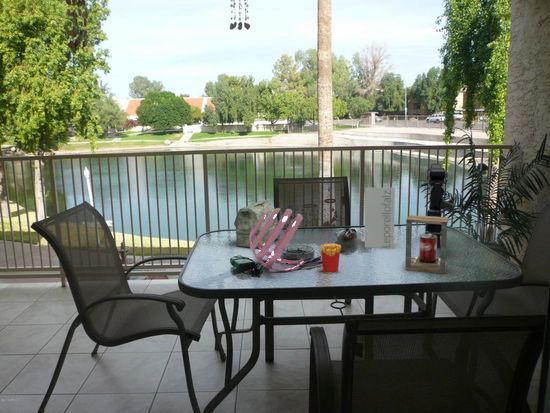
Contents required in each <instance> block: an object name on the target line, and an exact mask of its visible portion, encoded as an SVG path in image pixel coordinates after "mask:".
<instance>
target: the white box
mask: <svg viewBox="0 0 550 413" xmlns="http://www.w3.org/2000/svg"><path fill="white" fill-rule="evenodd" d="M395 189H396V188H395V187H365V190H364V192H365V194H364V195H365V196H364V197H365V198H364V248H370V249H394V248H395V246H394V245H395V244H394V243H395V199H396V198H395V196H396V193H395V192H396V190H395Z"/></svg>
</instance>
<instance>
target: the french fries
mask: <svg viewBox="0 0 550 413" xmlns="http://www.w3.org/2000/svg"><path fill="white" fill-rule="evenodd" d="M320 247H321V251H320V256H321V263H322V271H323V273H326V272H331V273H332V274H333V273H335V272H336V273H338V272H339V268H340V266H339V263H340V257H341V256H340V254H341V248H342V246H341V244H337V243H329V244H328V243H324V244H323V245H320ZM331 273H330V274H331Z"/></svg>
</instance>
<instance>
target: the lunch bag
mask: <svg viewBox="0 0 550 413" xmlns="http://www.w3.org/2000/svg"><path fill="white" fill-rule="evenodd" d="M275 209H276V208H275V207H274V205H273V203H272V202H271V201H269V200H268V199H262V200H261V199H259V200H258V201H256V202H254V203H252V204H250V205H248V206H244V207H241V208H240V209H238V212H237V213H236V214H237V215H236V216H235V219H234V222H233V226H235V236H236V241H235V242H236V243H235V244H236V246H238V247H242V248H250V240H249V236H250V231H251V229H252V228H253V227H254V228H255V226H256V224H257V223H258V221H259V220H260V218H261V217H262V215H263V214H264V213H265V212H267V211H269V212H268V214H267V216H266V217H265V219H264V220H263V222H262V223H261V225H260V226H259V228H258V230H257V231H256V233H255V236H256V237H257V236H258V234H259V233H260V231H261V230H262V228H263V227H264V225H265V224H266V222H267V220H268V219H269V217H270V216H271V214H272V213H273V211H274V210H275ZM278 219H279V218H278V215H277V216H276V217H275V219H274V220H273V222H272V224H271V225H270V227H269V228H268V230H267V231H266V233H265V234H264V236H263V237H262V239H261V241H260V244H261V245H263V244H264V243H265V241H266V240H267V238H268V237H269V235H270V233H271V232H272V230H273V229H274V227H275V226H276V224H277V223H278V221H279V220H278ZM279 237H280V234H279V235H278V236H277V238H276V239H275V240H277V239H279ZM253 242H254V239H253V237H252V244H253ZM255 249H259V248H258V247H256V248H255Z"/></svg>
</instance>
